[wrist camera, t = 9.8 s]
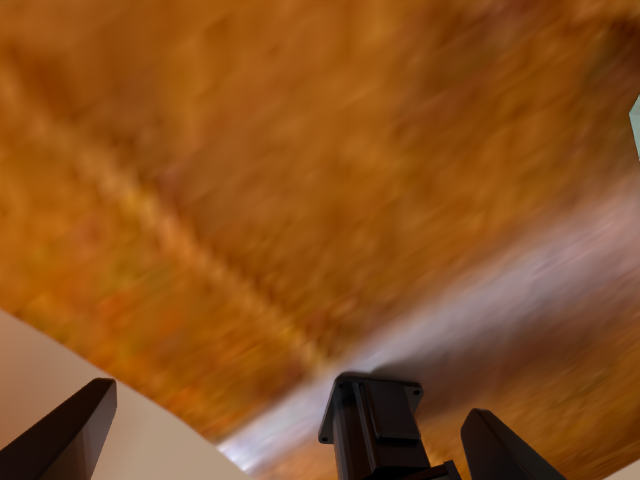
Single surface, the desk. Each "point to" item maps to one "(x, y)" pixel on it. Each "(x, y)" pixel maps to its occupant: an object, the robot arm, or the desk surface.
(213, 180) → the desk surface
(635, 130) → the bead
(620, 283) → the desk surface
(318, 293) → the desk surface
